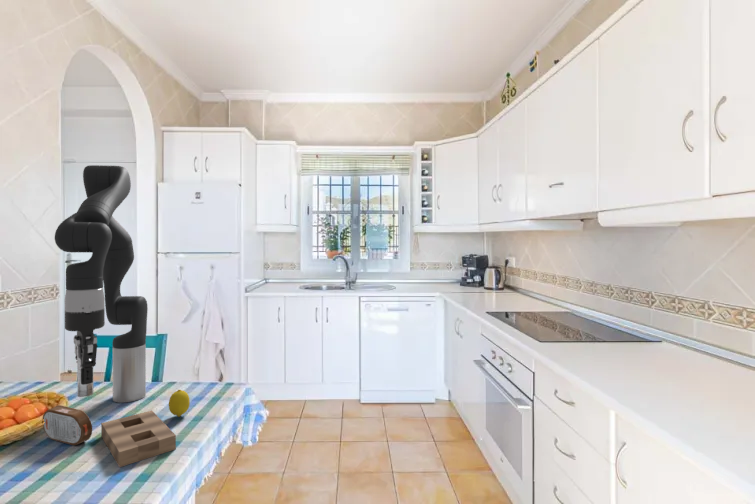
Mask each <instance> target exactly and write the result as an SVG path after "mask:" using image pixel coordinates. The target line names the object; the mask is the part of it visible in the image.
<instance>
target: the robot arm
mask: <svg viewBox="0 0 755 504" xmlns="http://www.w3.org/2000/svg"><path fill="white" fill-rule="evenodd" d="M82 179H83V181H82V182H83V187H84V191H85V194H86V198H85V200H83V201H82V203H81V204H80V206H79V207H78V210H77V211H76V212H75V213H73V214H71V215H70V216H68V217H67V218H65V219H64V220H63V221H61V222H60V224H59V225H58V226H57V228H56V229H55V233H54V242H55V245H56V246H57V248H58V249H60V251H63V252H65V253H92V254H91V257H90V258H89V259H87V260H85V261H82V262H81V261H80V262H75V263H71V264H68V265H67V266H66V269H65V295H64V329H65V330H66V331H68V332H76V334H75V335H74V336H73V344H74V354H75V358H74V359H75V360H76V361H77V357H78V358H79V359H80V368H81V384H82V385H85V384H90V383H92V382H93V383H94V367H96V365H97V351H98V338H97V336H96V335H95V334H94V333H95V332H94V331H95V330H97V329H99V330H100V329H101V328H103V327H104V326H105V324H106V323H105V319H106V318H105V317H107V321H108V323H109V324H111V325H113V326H127V325H128V326H129V325H130V326H131V329H130V330H128V332H126V333H122V334H119V335H117V336H115V337H114V338H113V339H112V401H113V402H114V403H130V402H136V401H139V400H141V399H143V398H144V397H146V394H147V391H146V386H147V385H146V384H147V382H146V381H147V378H146V377H147V376H146V374H147V373H146V371H147V368H146V367H147V366H146V363H147V361H146V359H147V357H146V355H147V353H146V351H147V350H146V349H147V348H146V346H147V345H146V344H147V343H146V342H147V341H146V340H147V330H148V329H147V327H148V326H147V325H148V321H147V320H148V311H149V309H148V301H147V299H146V297H144V296H139V295H134V296H133V295H132V296H131V295H130V296H127V295H126V296H125V295H124V296H122V294H121V286H122V285H121V284H122V282H123V279H124V278H125V276H126V275H127V273H128V272H129V270H130V268H131V267H132V265H133V263H134V259H135V254H134V253H135V252H134V245H133V240H132V237H131V235H130V234H129V232H128V231H127V230H126V229H125V228H124V227H123V226H122V225H121V224H120V222H118V221H117V220H116V218H114V216H113V214H114V213H115V211H116V210H117V208H119V207H120V206H121V204H122V203H123V201H124V200H125V199H126V198H127V197H128V195H130V194H129V193H130V191H131V188H132V187H131V186H132V185H131V184H132V183H131V176H130V172H129V171H128V169H127V168H125V166H120V165H100V164H99V165H97V164H96V165H87V166H85V167H84V168H83V172H82ZM105 314H106V316H105ZM81 353H82V354H81ZM87 359H90V360H91V361H88V362H85V361H86V360H87Z"/></svg>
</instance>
